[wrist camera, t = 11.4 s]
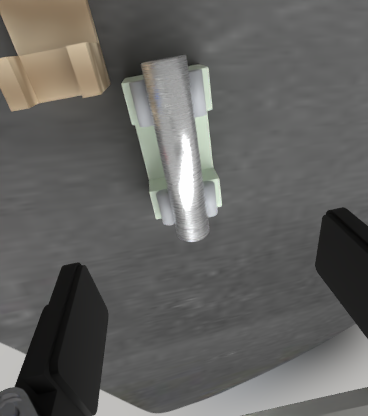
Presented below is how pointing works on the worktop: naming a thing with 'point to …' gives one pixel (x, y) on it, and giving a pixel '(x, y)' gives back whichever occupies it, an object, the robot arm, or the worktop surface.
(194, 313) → the worktop surface
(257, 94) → the worktop surface
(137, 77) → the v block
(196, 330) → the worktop surface
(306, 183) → the worktop surface
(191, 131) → the axle
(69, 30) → the wooden cradle stand
